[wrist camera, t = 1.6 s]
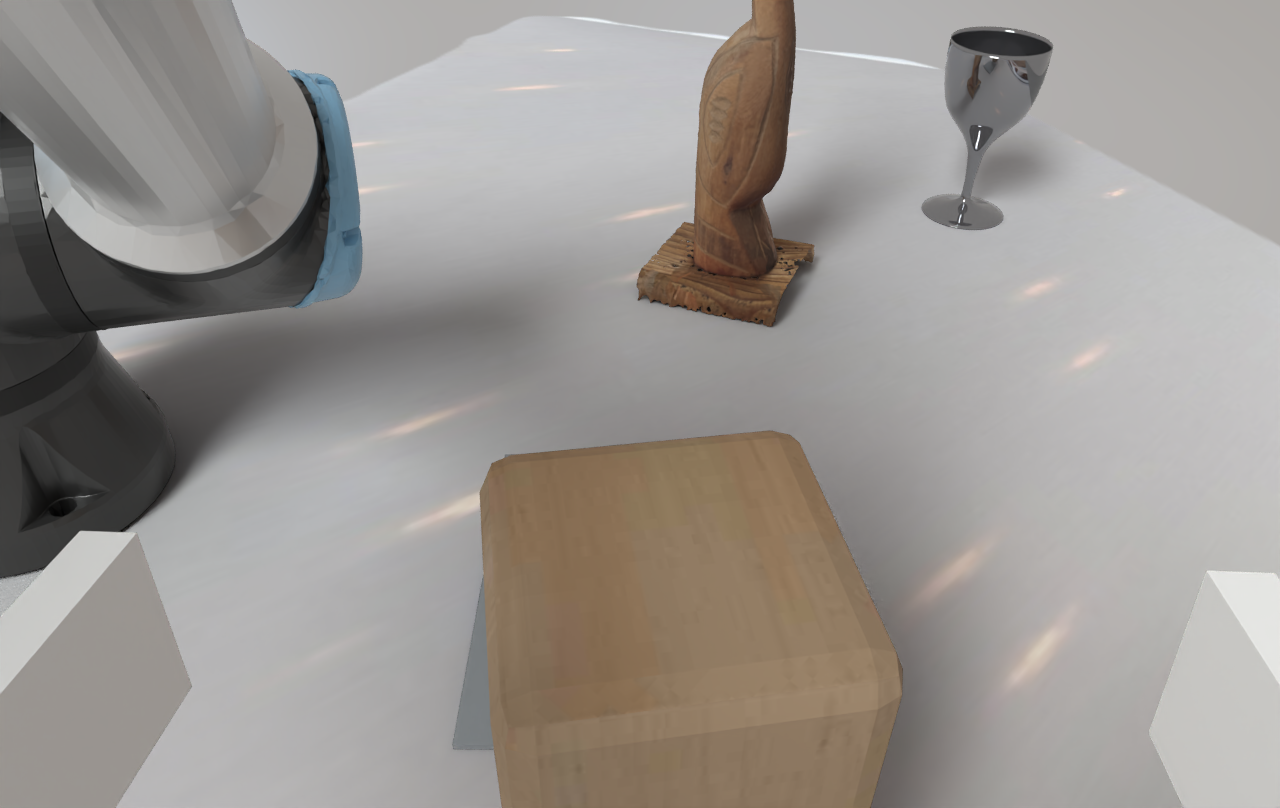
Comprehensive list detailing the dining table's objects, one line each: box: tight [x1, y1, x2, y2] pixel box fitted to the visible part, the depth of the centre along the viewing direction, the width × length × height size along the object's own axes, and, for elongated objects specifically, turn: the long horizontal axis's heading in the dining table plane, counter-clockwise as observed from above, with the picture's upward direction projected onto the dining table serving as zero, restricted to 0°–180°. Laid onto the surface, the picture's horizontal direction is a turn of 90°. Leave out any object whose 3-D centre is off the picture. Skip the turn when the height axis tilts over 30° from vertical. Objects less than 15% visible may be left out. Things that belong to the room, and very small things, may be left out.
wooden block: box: [480, 431, 903, 808], centre depth 32 cm, size 10×10×20 cm
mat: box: [453, 455, 510, 749], centre depth 51 cm, size 20×18×1 cm
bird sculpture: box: [637, 0, 814, 327], centre depth 67 cm, size 11×12×32 cm
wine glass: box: [922, 27, 1053, 230], centre depth 83 cm, size 8×8×15 cm
